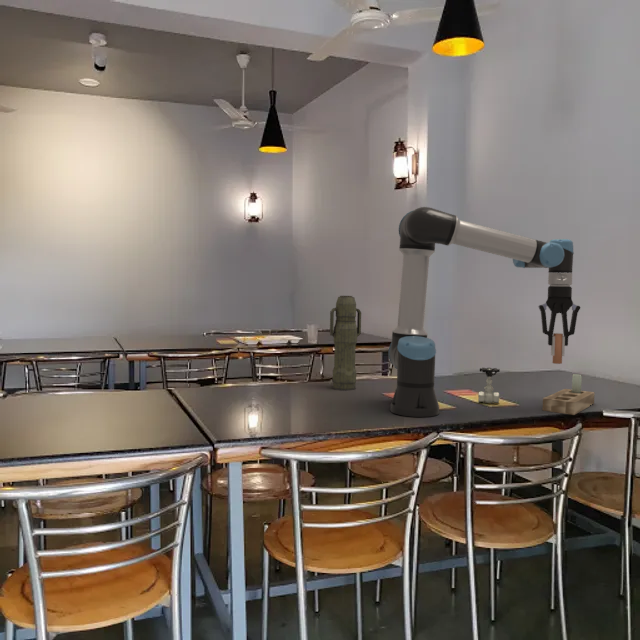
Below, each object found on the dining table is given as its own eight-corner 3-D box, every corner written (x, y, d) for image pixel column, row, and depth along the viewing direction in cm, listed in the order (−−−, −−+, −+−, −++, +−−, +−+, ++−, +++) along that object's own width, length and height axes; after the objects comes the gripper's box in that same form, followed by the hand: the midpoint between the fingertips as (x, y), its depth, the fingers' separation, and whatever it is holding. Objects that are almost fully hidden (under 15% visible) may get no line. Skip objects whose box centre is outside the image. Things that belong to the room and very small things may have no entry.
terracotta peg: (551, 362, 217) (552, 333, 216) (561, 362, 217) (561, 333, 216) (553, 363, 214) (554, 334, 214) (562, 363, 214) (563, 334, 213)
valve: (499, 406, 213) (500, 370, 212) (478, 405, 215) (480, 369, 214) (497, 402, 220) (498, 367, 219) (478, 401, 221) (479, 367, 220)
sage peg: (570, 403, 220) (571, 374, 219) (572, 402, 222) (573, 373, 221) (579, 404, 218) (580, 375, 217) (581, 403, 220) (582, 374, 220)
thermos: (363, 389, 239) (365, 296, 237) (334, 391, 235) (336, 296, 232) (353, 385, 247) (355, 295, 245) (325, 387, 243) (327, 295, 240)
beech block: (542, 410, 207) (542, 398, 207) (564, 399, 226) (564, 388, 226) (574, 414, 201) (574, 402, 201) (594, 403, 220) (594, 392, 220)
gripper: (537, 285, 211) (535, 355, 213) (586, 286, 208) (584, 357, 210) (534, 285, 219) (532, 353, 220) (582, 285, 216) (579, 354, 217)
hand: (557, 355), depth 215 cm, fingers closed on terracotta peg, 2 cm apart
